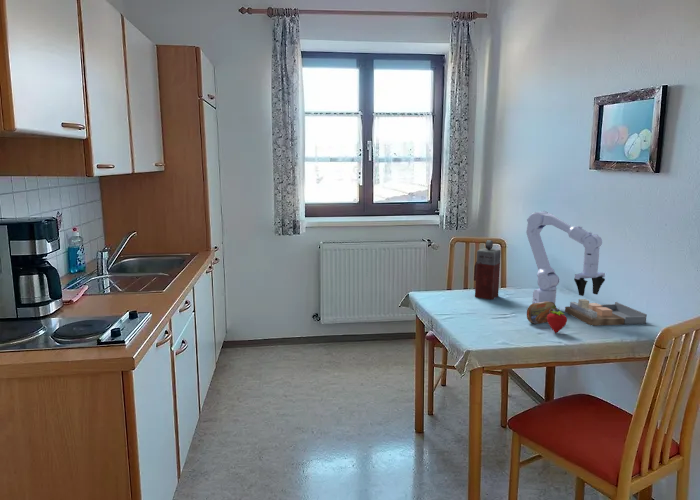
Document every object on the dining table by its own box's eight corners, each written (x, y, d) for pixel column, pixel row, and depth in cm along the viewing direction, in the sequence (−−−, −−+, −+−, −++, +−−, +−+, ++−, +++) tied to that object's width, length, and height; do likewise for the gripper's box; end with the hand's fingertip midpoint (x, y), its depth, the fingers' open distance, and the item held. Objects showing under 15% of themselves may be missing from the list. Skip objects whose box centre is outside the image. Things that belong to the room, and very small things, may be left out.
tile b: (592, 311, 228) (592, 305, 227) (586, 308, 232) (586, 303, 232) (601, 311, 228) (602, 305, 228) (595, 308, 233) (596, 302, 232)
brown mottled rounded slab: (530, 325, 216) (531, 305, 215) (524, 323, 219) (525, 303, 217) (556, 320, 223) (558, 301, 221) (550, 318, 226) (552, 299, 224)
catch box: (624, 324, 218) (625, 315, 218) (595, 311, 238) (596, 302, 237) (645, 323, 219) (646, 314, 219) (615, 310, 239) (616, 301, 238)
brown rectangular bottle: (476, 292, 270) (479, 238, 265) (498, 296, 263) (501, 240, 259) (470, 296, 262) (472, 240, 258) (492, 299, 256) (495, 242, 252)
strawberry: (548, 328, 211) (550, 304, 210) (568, 332, 207) (570, 307, 205) (543, 332, 207) (545, 307, 205) (563, 336, 202) (565, 310, 201)
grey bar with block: (591, 318, 217) (592, 305, 217) (568, 307, 234) (569, 295, 233) (597, 318, 218) (599, 305, 217) (575, 307, 234) (576, 295, 234)
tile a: (601, 316, 221) (602, 310, 221) (595, 313, 225) (596, 307, 225) (611, 315, 222) (612, 310, 221) (605, 312, 226) (605, 307, 226)
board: (590, 325, 216) (591, 319, 216) (564, 312, 236) (565, 306, 235) (623, 324, 218) (624, 318, 218) (595, 311, 238) (595, 305, 237)
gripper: (584, 266, 220) (581, 298, 222) (611, 264, 225) (608, 295, 227) (572, 263, 226) (569, 294, 229) (598, 261, 231) (596, 291, 234)
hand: (588, 294), depth 228 cm, fingers open, 7 cm apart
